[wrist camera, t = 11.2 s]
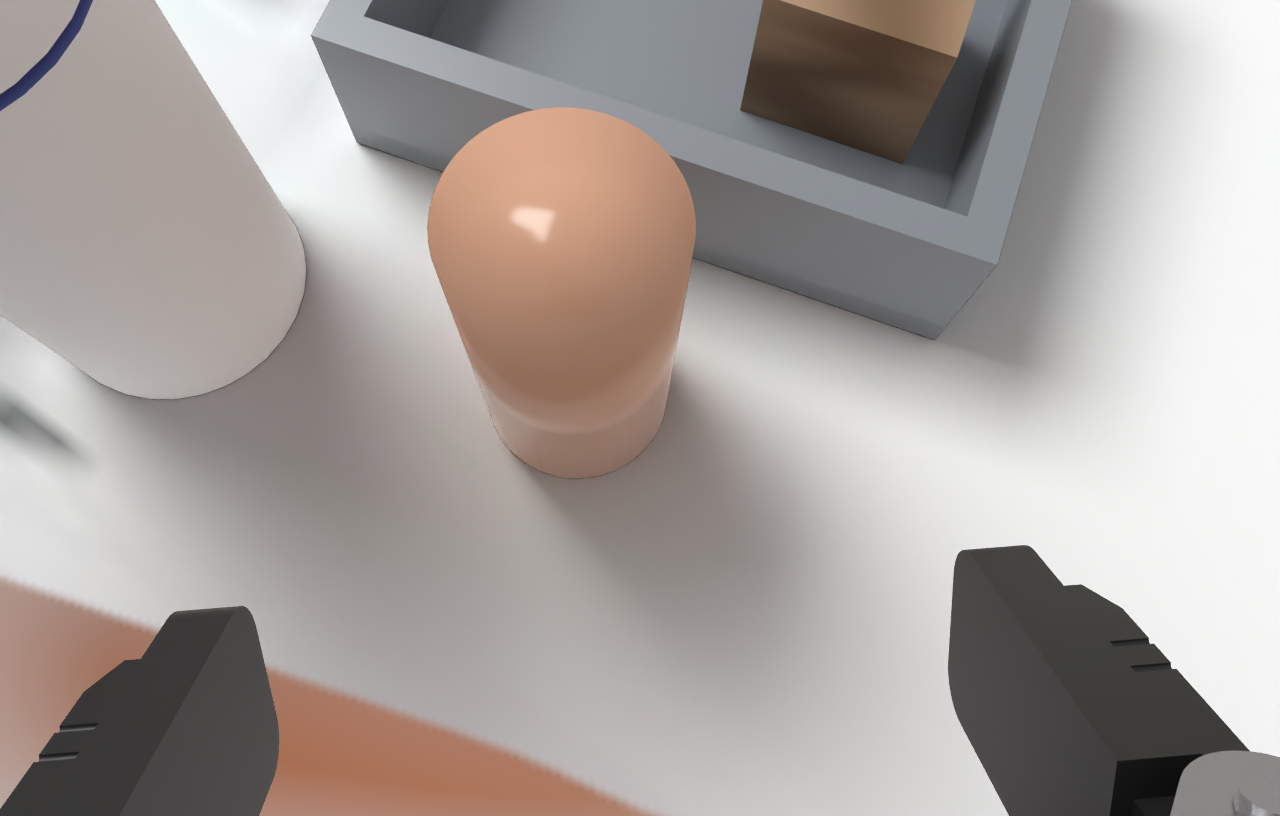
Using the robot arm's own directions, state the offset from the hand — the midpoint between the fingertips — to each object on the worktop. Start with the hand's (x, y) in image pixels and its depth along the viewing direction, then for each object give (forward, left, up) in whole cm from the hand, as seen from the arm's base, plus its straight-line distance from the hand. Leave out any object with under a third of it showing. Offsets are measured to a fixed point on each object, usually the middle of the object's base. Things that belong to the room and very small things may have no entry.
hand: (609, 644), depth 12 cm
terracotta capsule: (-4, +7, -15) cm, 17 cm away
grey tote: (-4, +19, -15) cm, 25 cm away
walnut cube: (0, +19, -14) cm, 24 cm away
